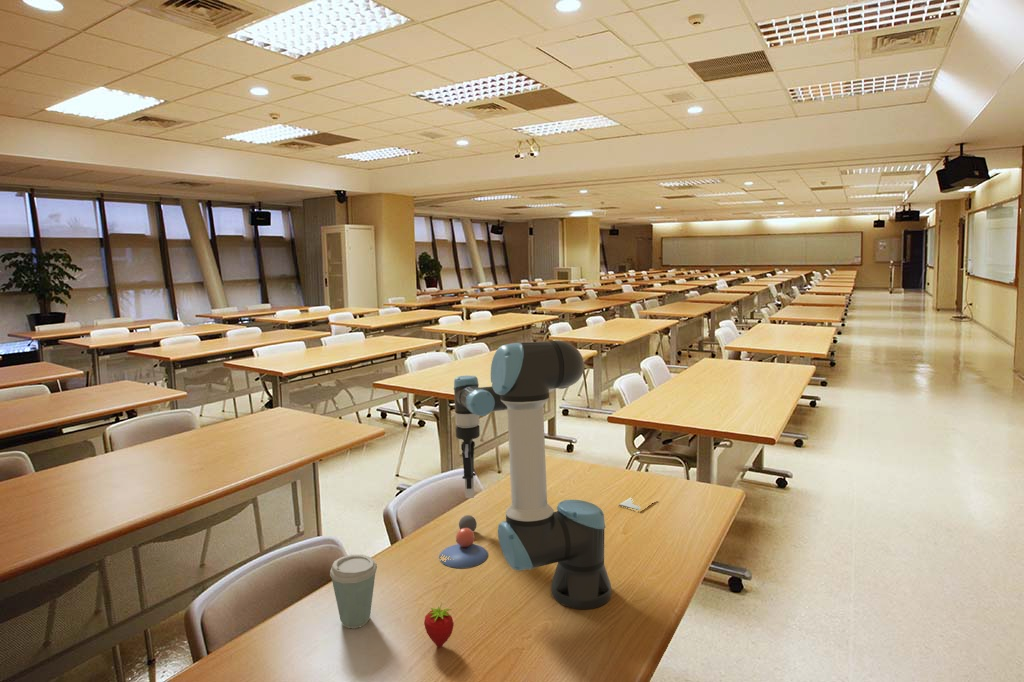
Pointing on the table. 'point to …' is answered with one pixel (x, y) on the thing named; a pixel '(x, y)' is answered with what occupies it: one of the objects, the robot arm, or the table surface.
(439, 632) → the strawberry
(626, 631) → the table surface
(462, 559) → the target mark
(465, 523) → the grey ball
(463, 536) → the red ball
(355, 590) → the disposable coffee cup
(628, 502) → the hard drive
